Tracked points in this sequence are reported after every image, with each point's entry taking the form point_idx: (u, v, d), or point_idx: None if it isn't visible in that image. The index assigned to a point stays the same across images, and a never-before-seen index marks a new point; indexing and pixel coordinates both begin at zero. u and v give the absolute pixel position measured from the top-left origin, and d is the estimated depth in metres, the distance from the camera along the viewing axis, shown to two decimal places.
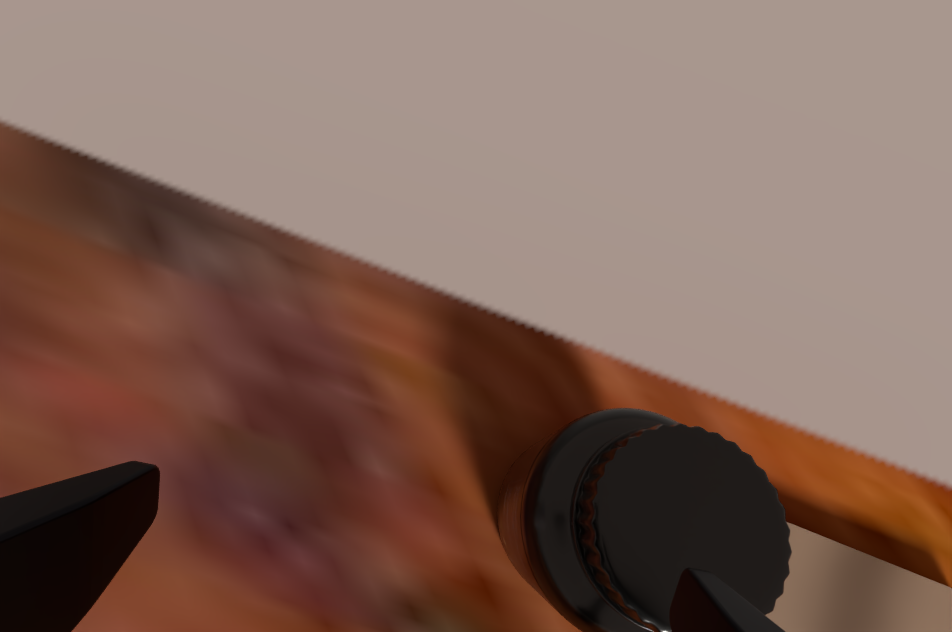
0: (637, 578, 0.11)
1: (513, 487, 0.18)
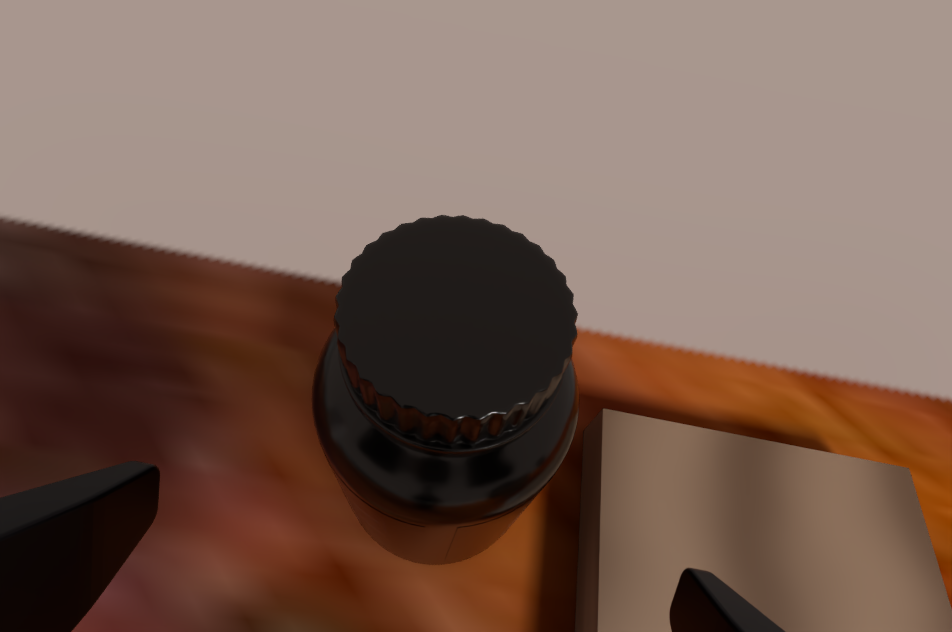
0: (392, 362, 0.09)
1: None
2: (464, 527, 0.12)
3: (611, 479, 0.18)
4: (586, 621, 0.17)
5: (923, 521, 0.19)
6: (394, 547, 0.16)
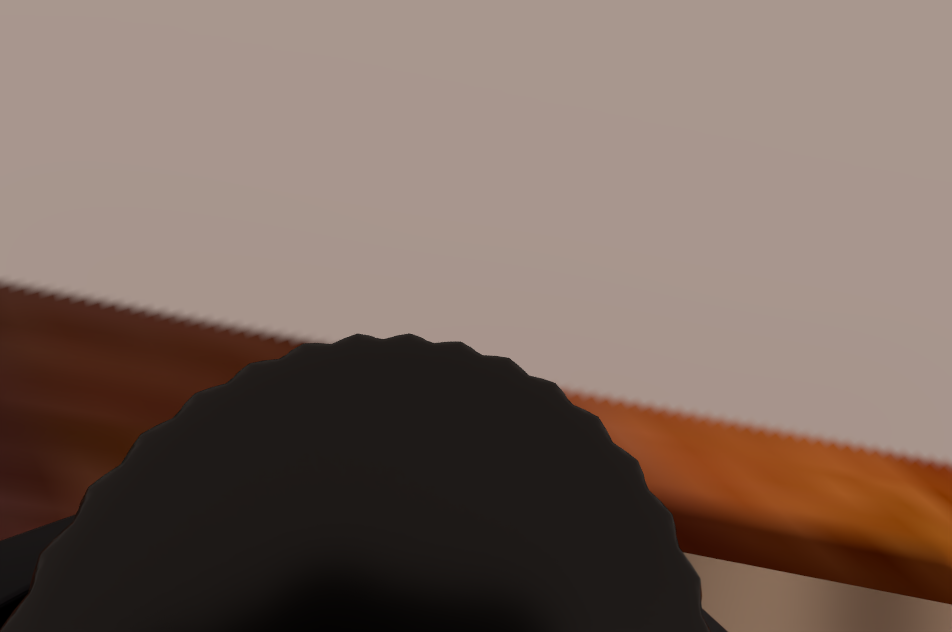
0: None
1: None
2: None
3: None
4: None
5: None
6: None
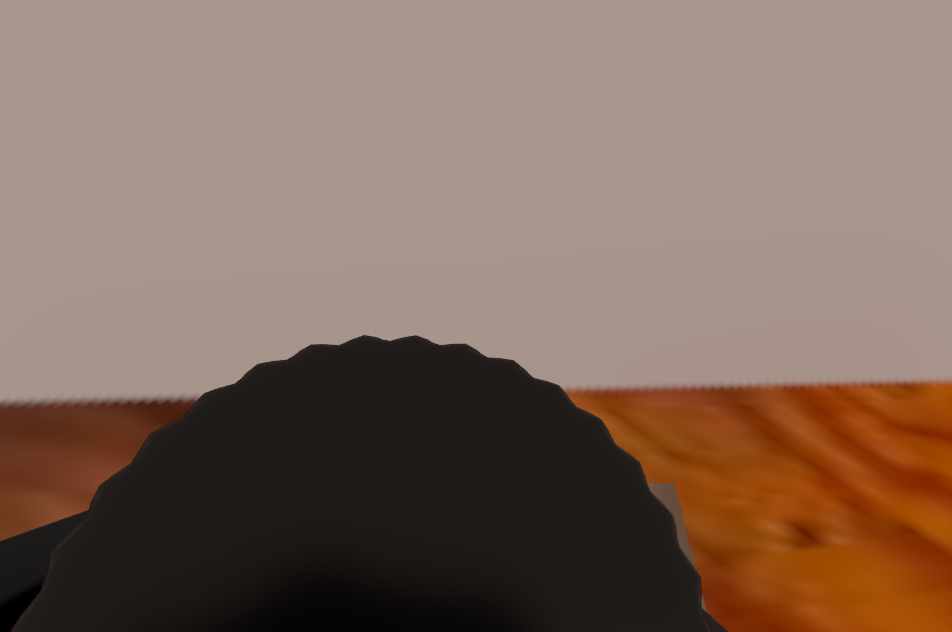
0: None
1: None
2: None
3: None
4: None
5: (686, 534, 0.20)
6: None
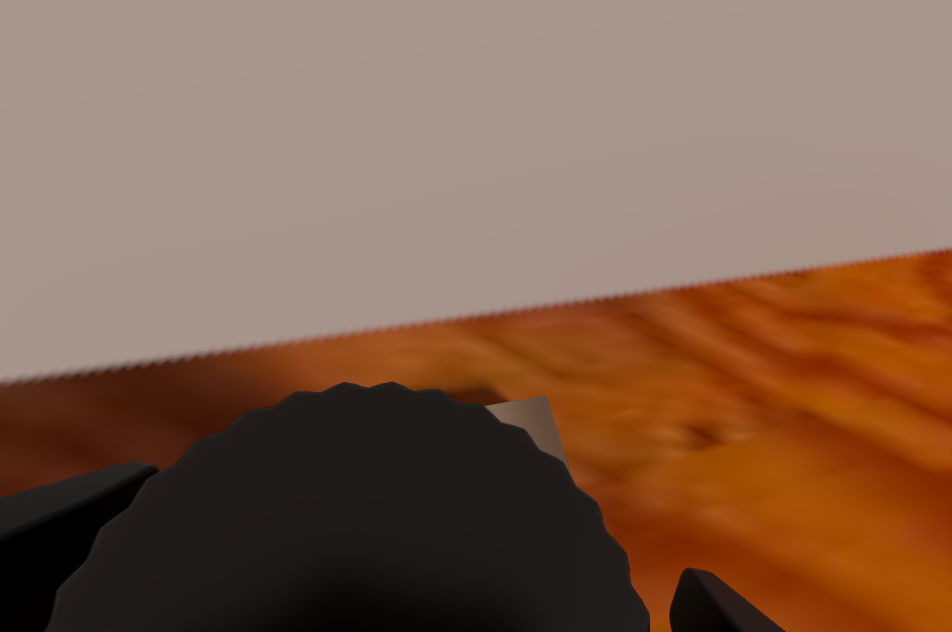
0: None
1: None
2: None
3: None
4: None
5: (562, 448, 0.17)
6: None
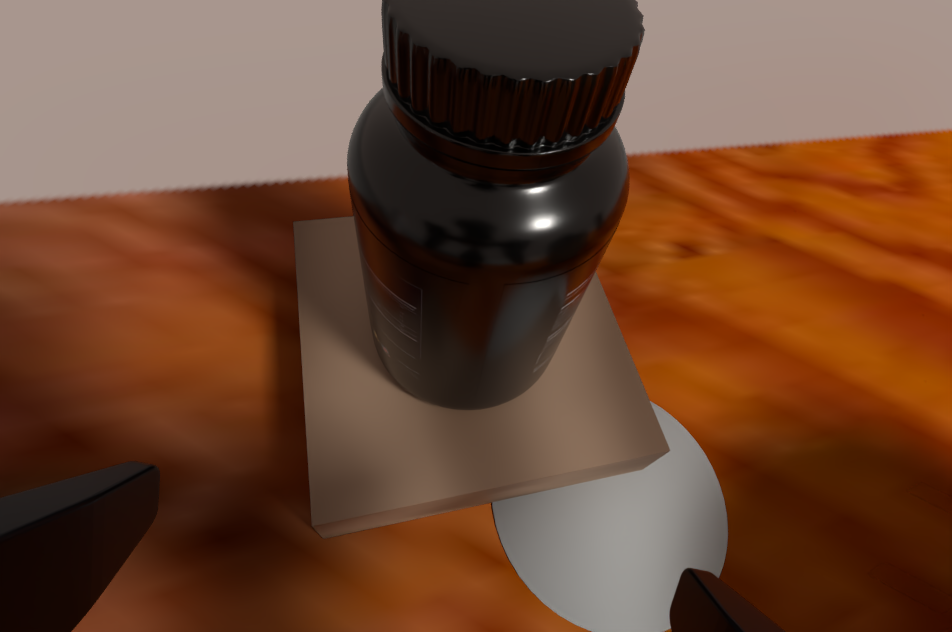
0: (448, 33, 0.08)
1: None
2: (511, 286, 0.11)
3: (306, 272, 0.20)
4: None
5: None
6: (425, 372, 0.15)
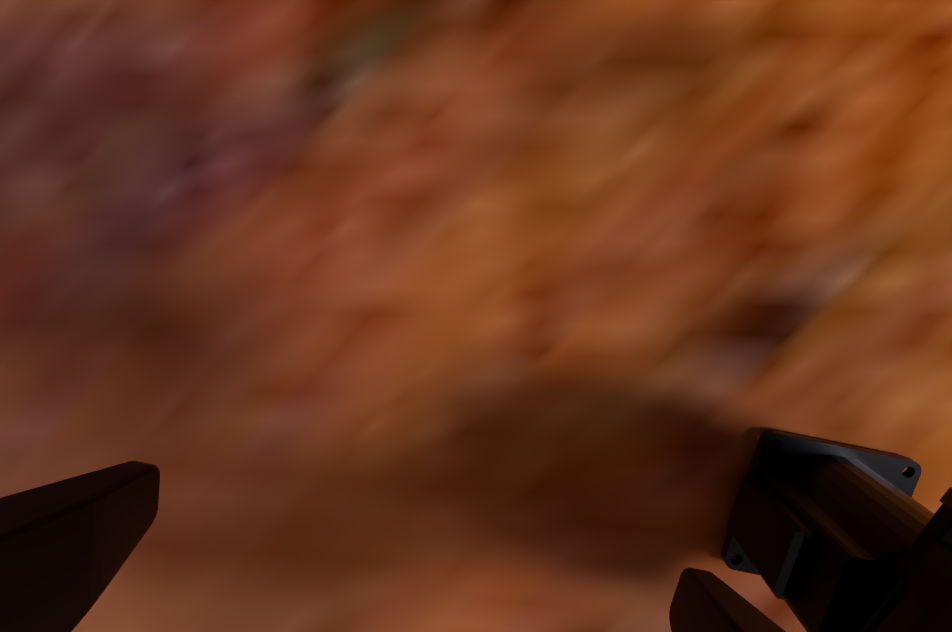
0: None
1: None
2: None
3: None
4: None
5: None
6: None
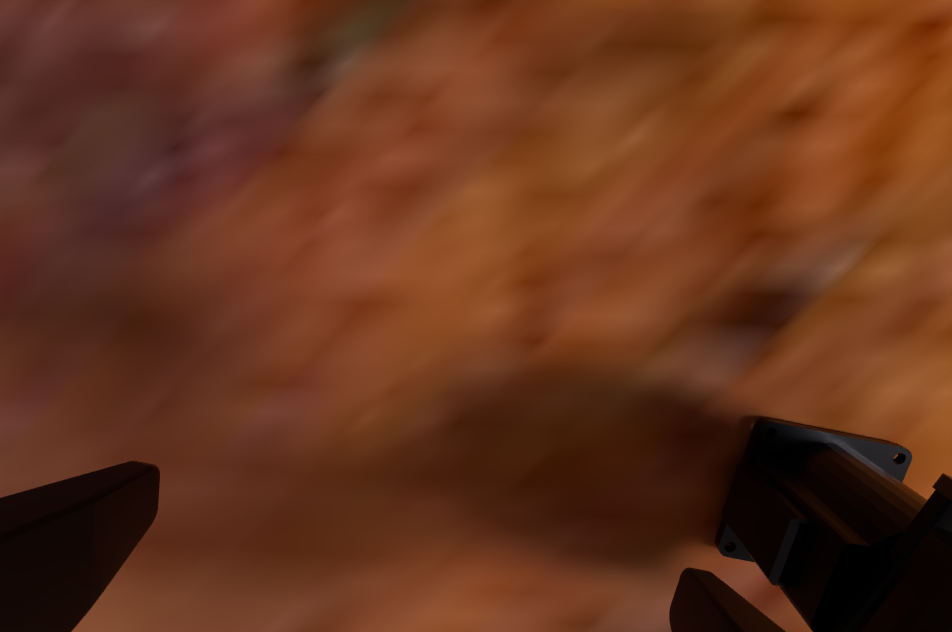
0: None
1: None
2: None
3: None
4: None
5: None
6: None
